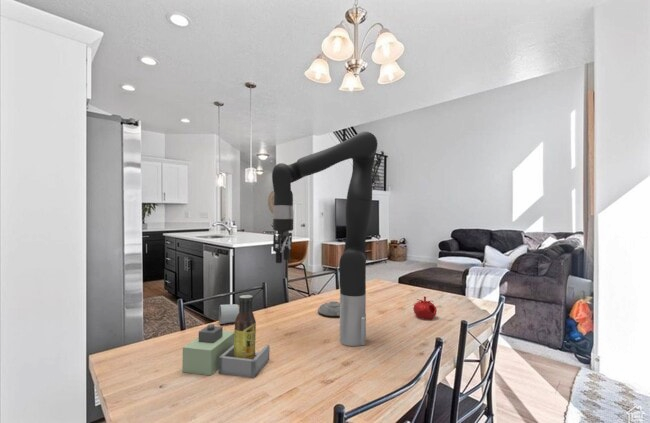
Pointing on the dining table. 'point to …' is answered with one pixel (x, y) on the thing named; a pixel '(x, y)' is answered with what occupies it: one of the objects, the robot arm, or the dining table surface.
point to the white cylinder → (228, 313)
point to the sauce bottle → (245, 329)
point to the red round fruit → (425, 309)
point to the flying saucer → (330, 309)
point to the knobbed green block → (220, 355)
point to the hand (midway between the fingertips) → (282, 261)
